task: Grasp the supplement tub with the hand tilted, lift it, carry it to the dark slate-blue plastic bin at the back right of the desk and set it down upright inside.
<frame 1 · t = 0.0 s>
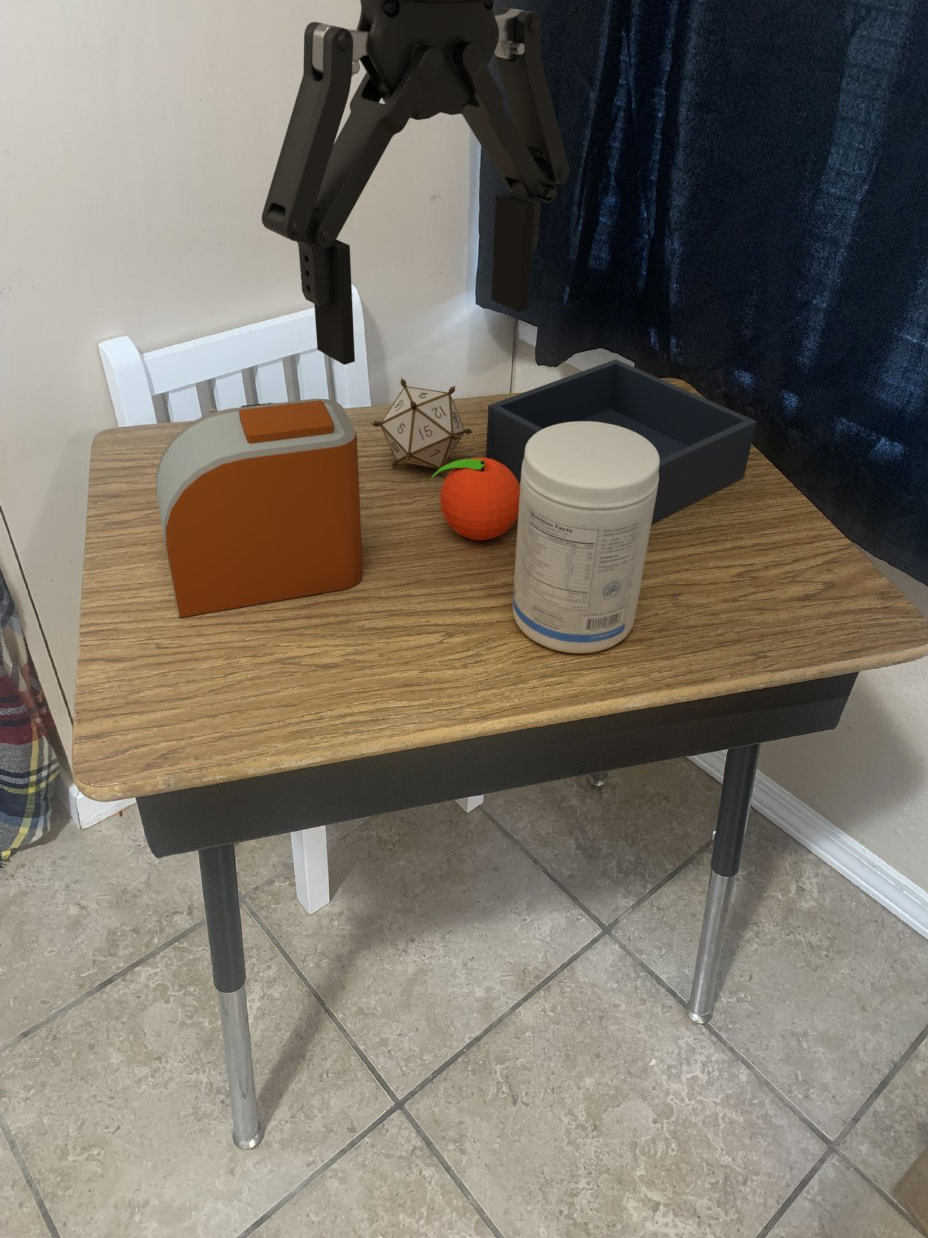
hand: (427, 329, 60), 23 cm above the table, tool pointing down, fingers open, 13 cm apart
supplement tub: (571, 621, 76), on the table
bin: (613, 469, 94), on the table
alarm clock: (267, 574, 80), on the table
eagle figurine: (260, 464, 94), on the table
game die: (422, 467, 94), on the table
clementine: (473, 534, 85), on the table
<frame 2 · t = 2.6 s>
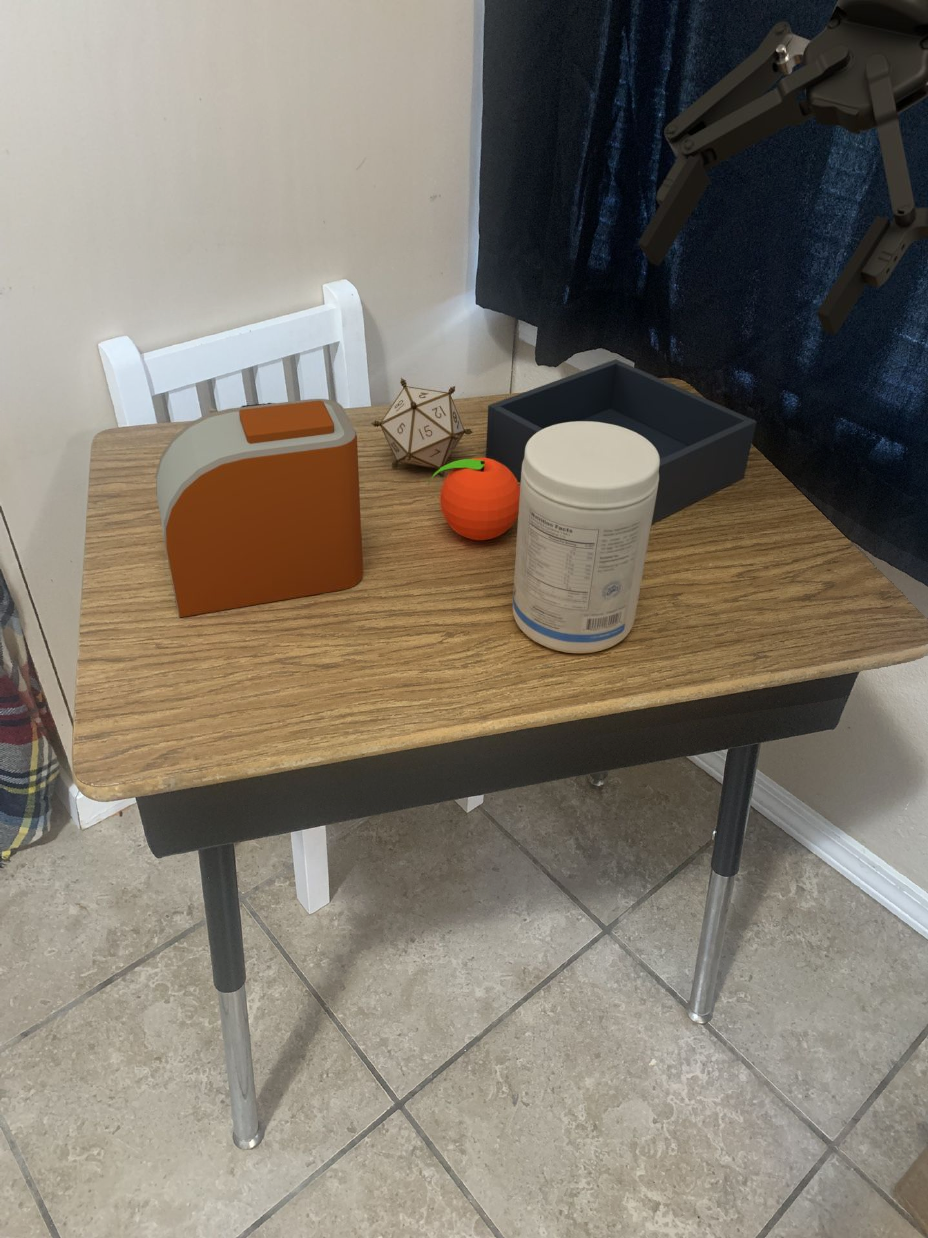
hand: (731, 288, 63), 25 cm above the table, tool tilted 40°, fingers open, 13 cm apart
nothing on the table moved.
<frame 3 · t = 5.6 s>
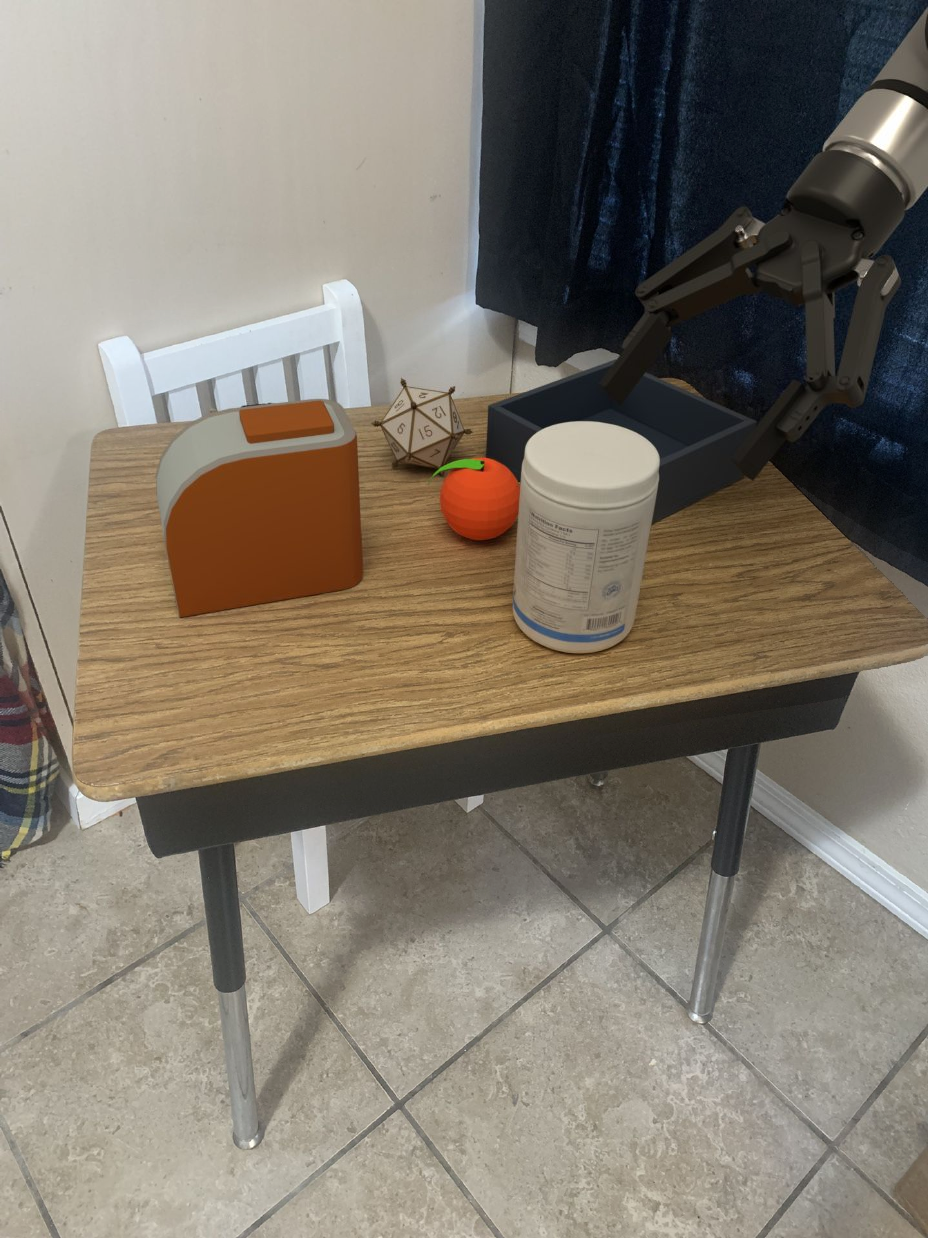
hand: (671, 430, 70), 14 cm above the table, tool tilted 45°, fingers open, 13 cm apart
nothing on the table moved.
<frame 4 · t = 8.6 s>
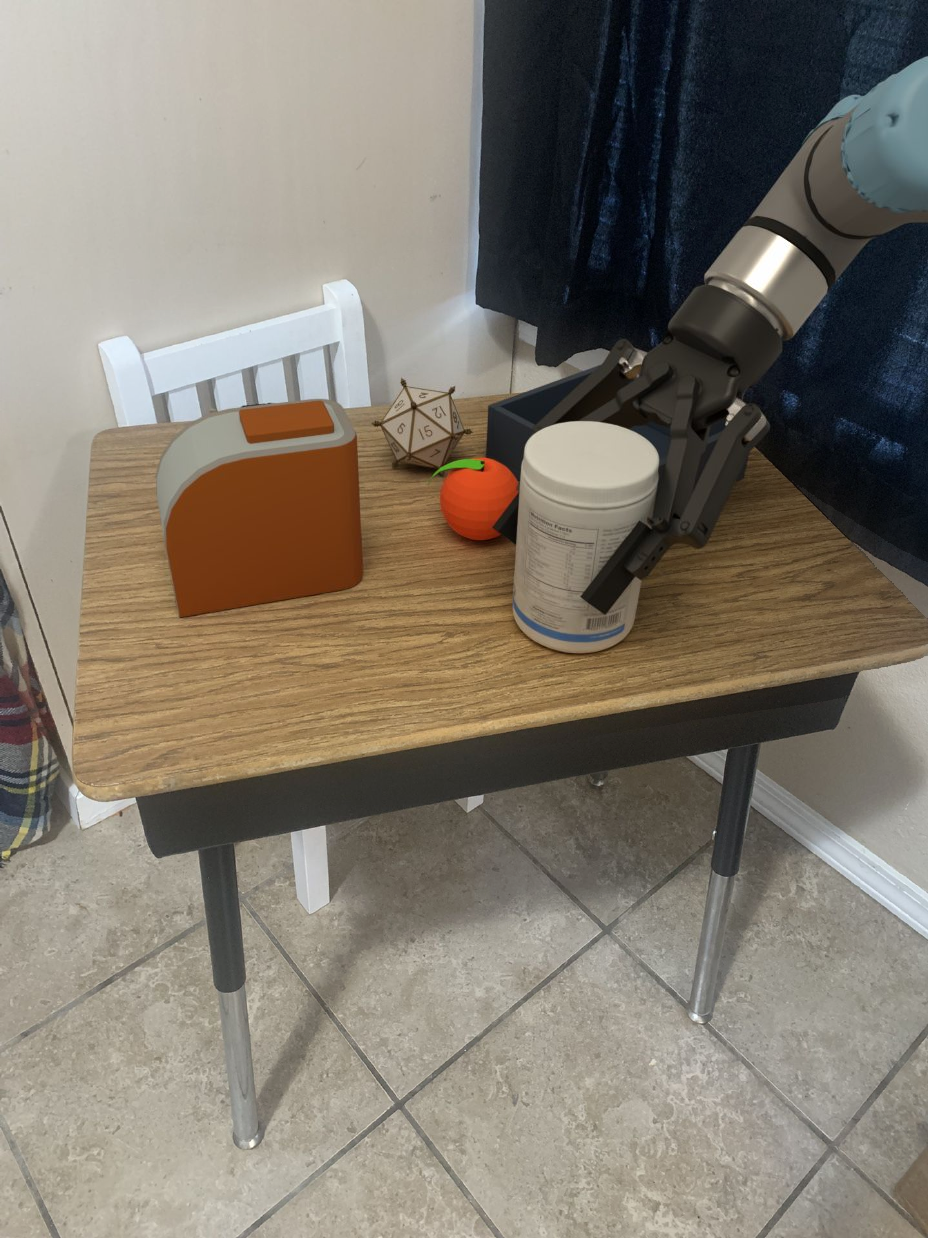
hand: (546, 569, 71), 6 cm above the table, tool tilted 45°, fingers closed on supplement tub, 9 cm apart
supplement tub: (571, 621, 76), on the table, touching gripper
everything else where it was.
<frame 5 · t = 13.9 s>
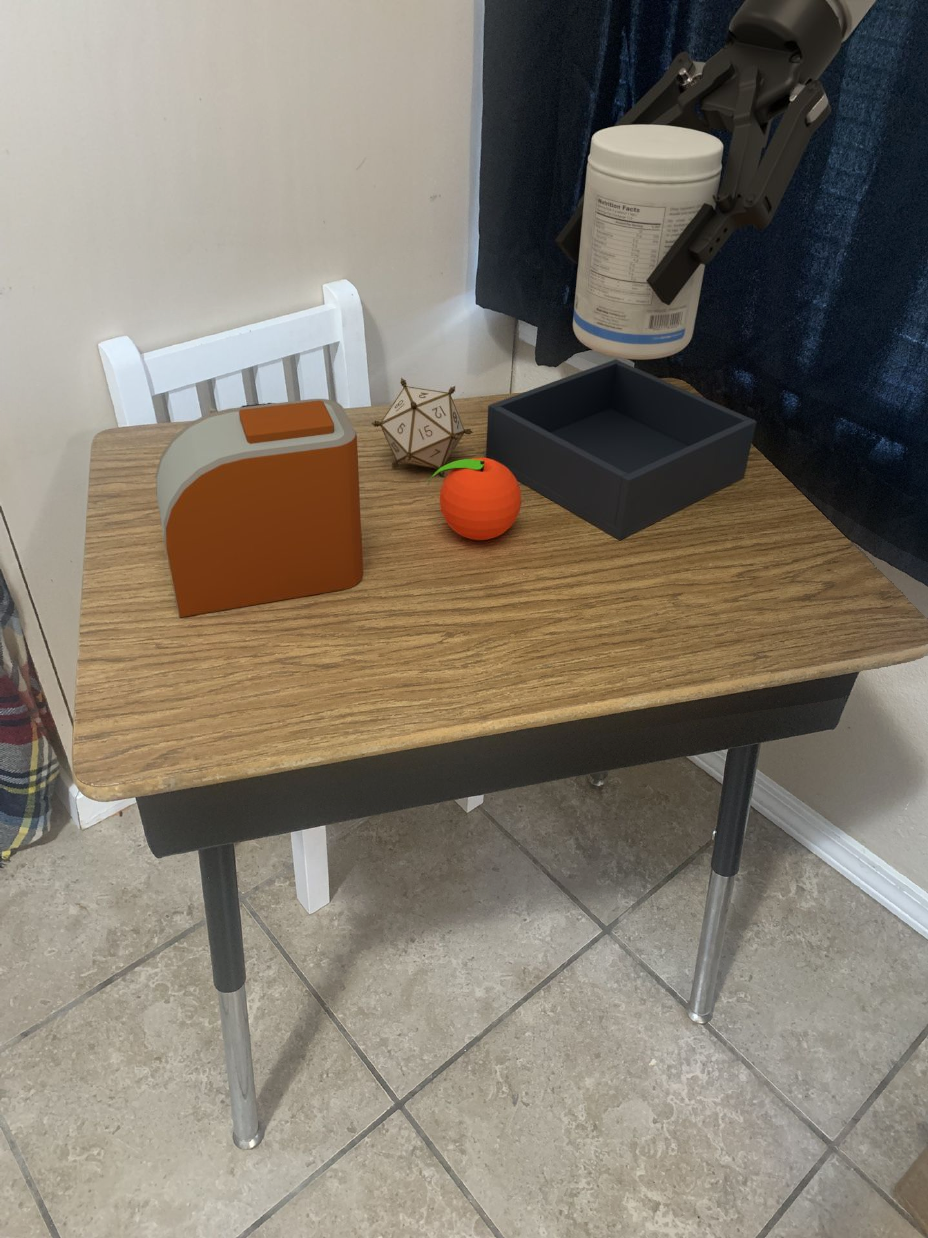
hand: (610, 271, 73), 22 cm above the table, tool tilted 45°, fingers closed on supplement tub, 9 cm apart
supplement tub: (630, 341, 78), point 16 cm above the table, touching gripper
everything else where it was.
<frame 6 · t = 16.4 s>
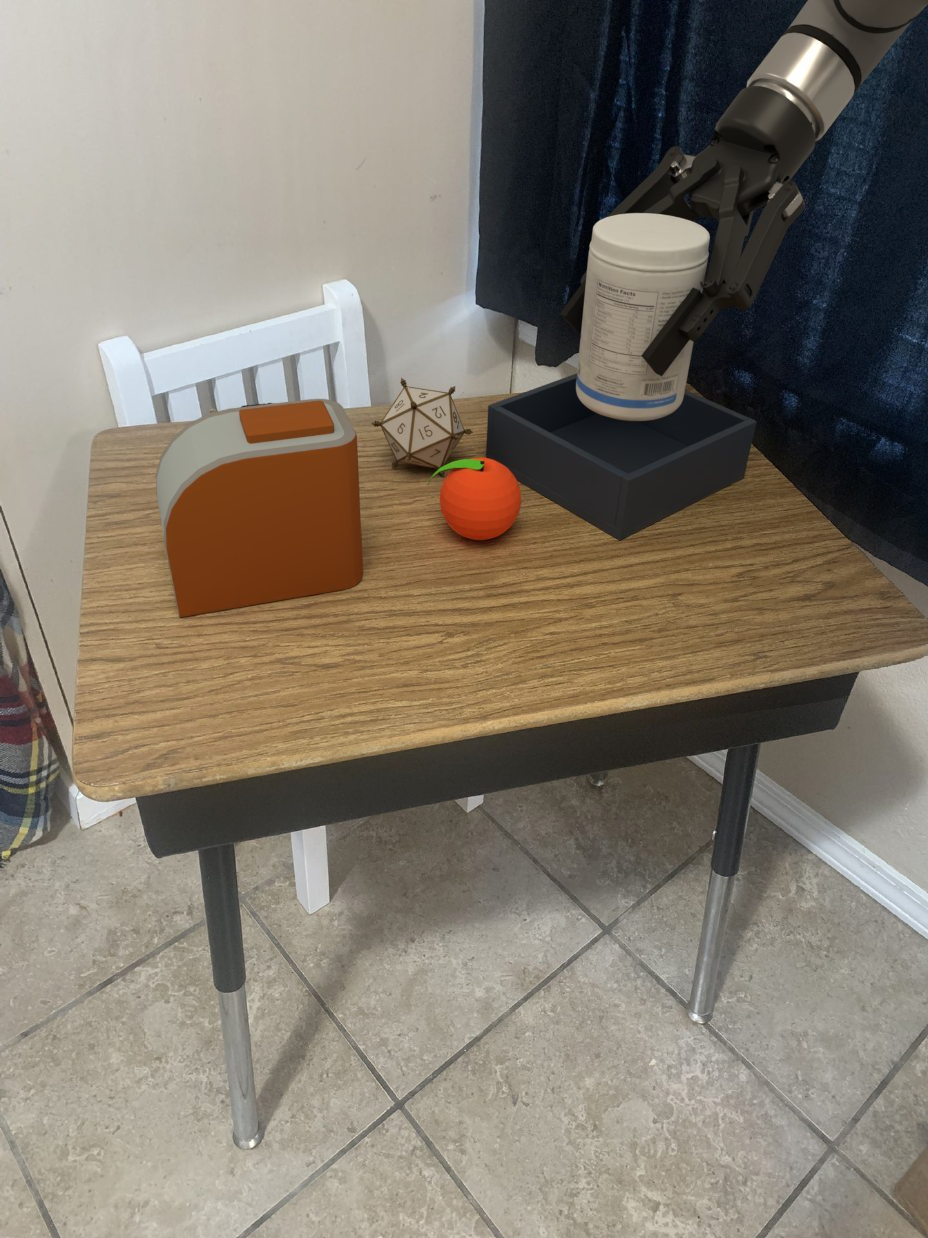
hand: (609, 344, 81), 15 cm above the table, tool tilted 45°, fingers closed on supplement tub, 9 cm apart
supplement tub: (627, 402, 86), point 9 cm above the table, touching gripper
everything else where it was.
when the fingers open (7 cm above the table, at t = 19.1 s): supplement tub stays where it is, resting on bin.
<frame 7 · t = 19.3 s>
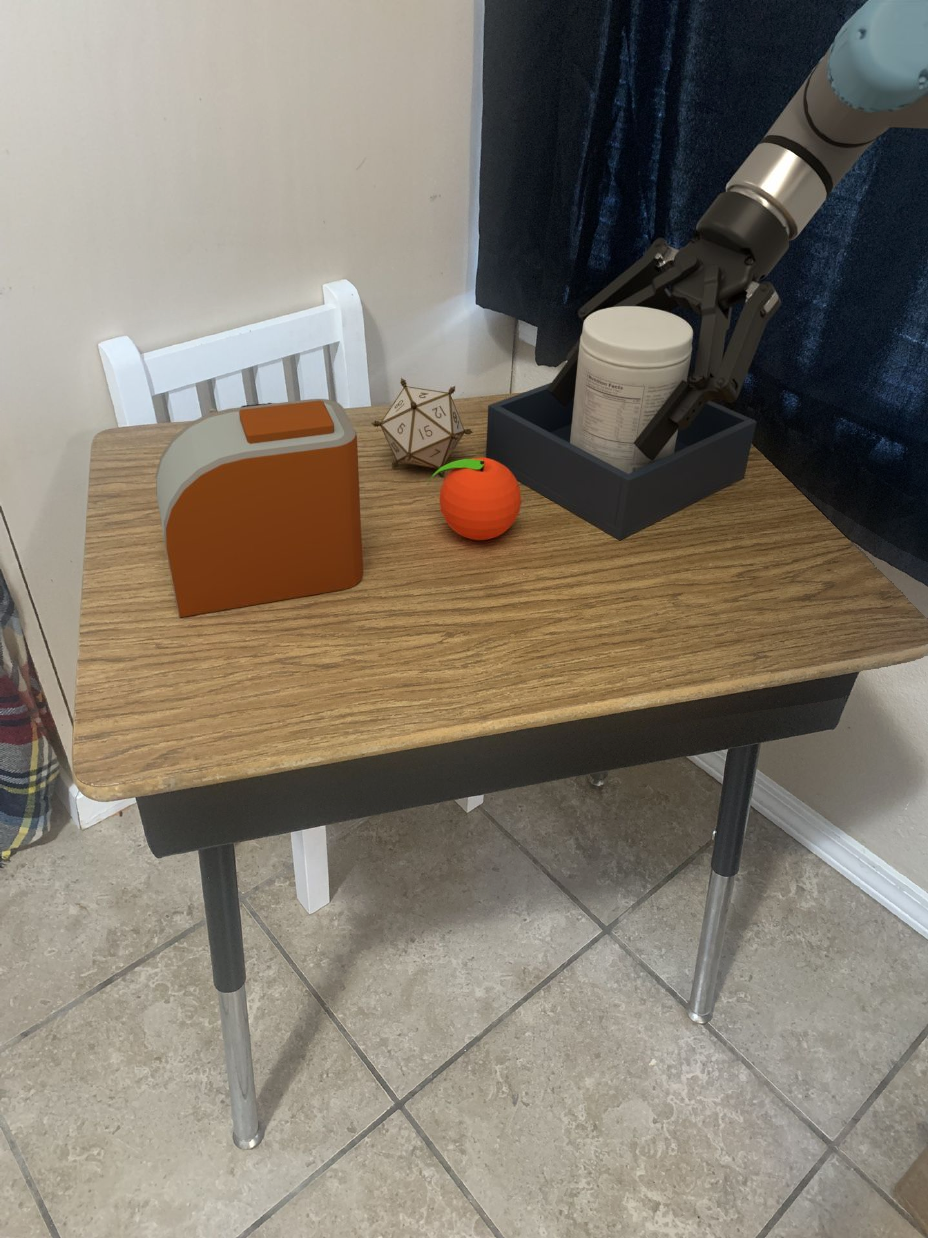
hand: (597, 424, 86), 7 cm above the table, tool tilted 45°, fingers open, 11 cm apart
supplement tub: (616, 480, 91), point 1 cm above the table, touching bin
everything else where it was.
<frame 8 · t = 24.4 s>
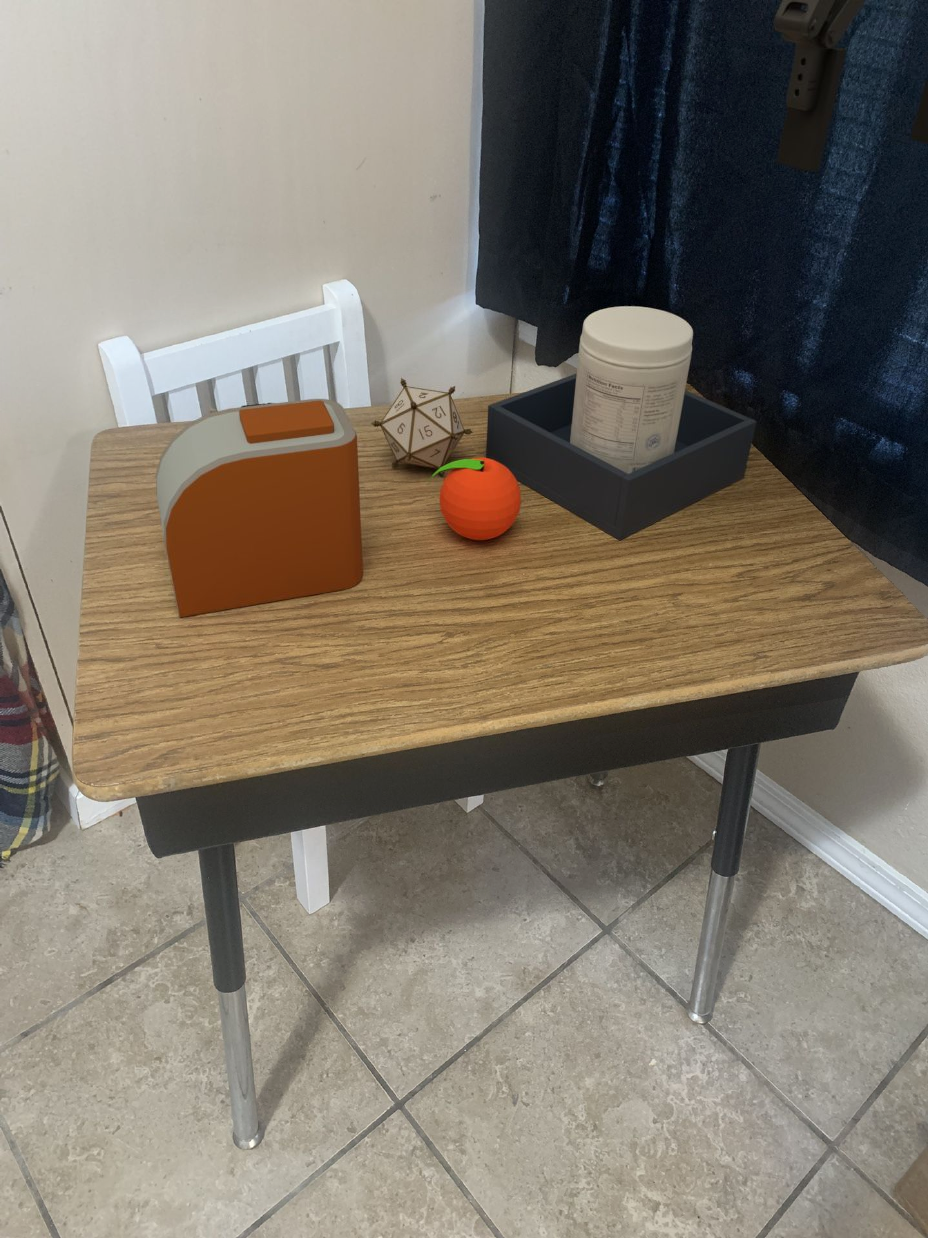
hand: (866, 154, 64), 32 cm above the table, tool pointing down, fingers open, 13 cm apart
nothing on the table moved.
at the end: supplement tub inside the target area in the bin (3.4 cm from its centre), point 0.8 cm above the bin's base; supplement tub tilted 0°; the gripper is holding nothing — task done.
